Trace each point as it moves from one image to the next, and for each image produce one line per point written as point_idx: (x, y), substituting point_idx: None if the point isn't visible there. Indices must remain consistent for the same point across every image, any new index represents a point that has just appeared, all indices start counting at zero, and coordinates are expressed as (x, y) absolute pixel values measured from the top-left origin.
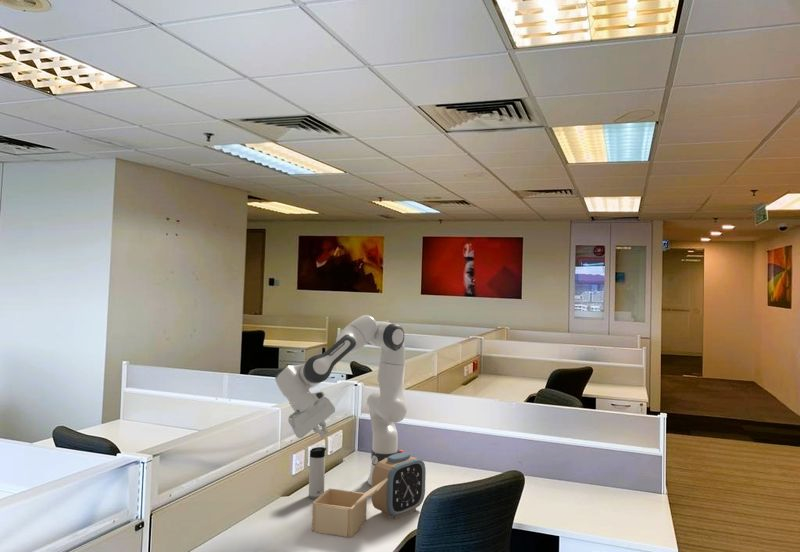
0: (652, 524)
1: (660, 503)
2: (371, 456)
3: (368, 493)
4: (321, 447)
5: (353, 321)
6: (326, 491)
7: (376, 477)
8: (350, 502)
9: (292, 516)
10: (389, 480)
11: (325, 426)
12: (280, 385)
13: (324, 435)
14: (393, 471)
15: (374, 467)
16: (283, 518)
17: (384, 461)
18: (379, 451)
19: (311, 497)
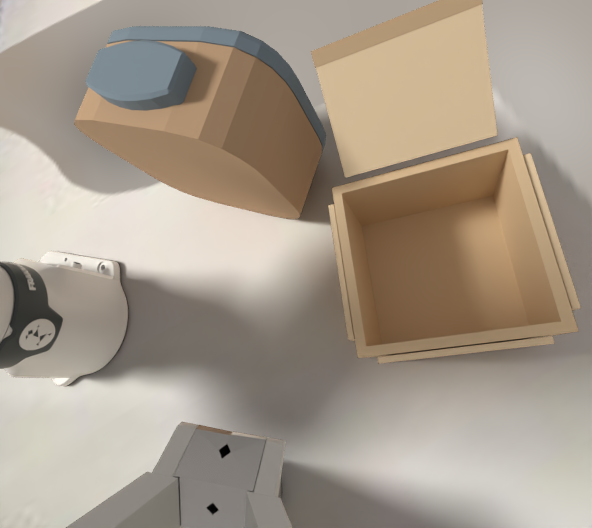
0: None
1: None
2: (16, 358)
3: (435, 84)
4: None
5: None
6: (398, 350)
7: (269, 148)
8: (359, 259)
9: (463, 488)
10: (291, 71)
11: (129, 497)
12: None
13: (266, 438)
14: (259, 40)
15: (64, 337)
16: (503, 518)
17: (186, 114)
18: (2, 311)
19: (280, 496)
